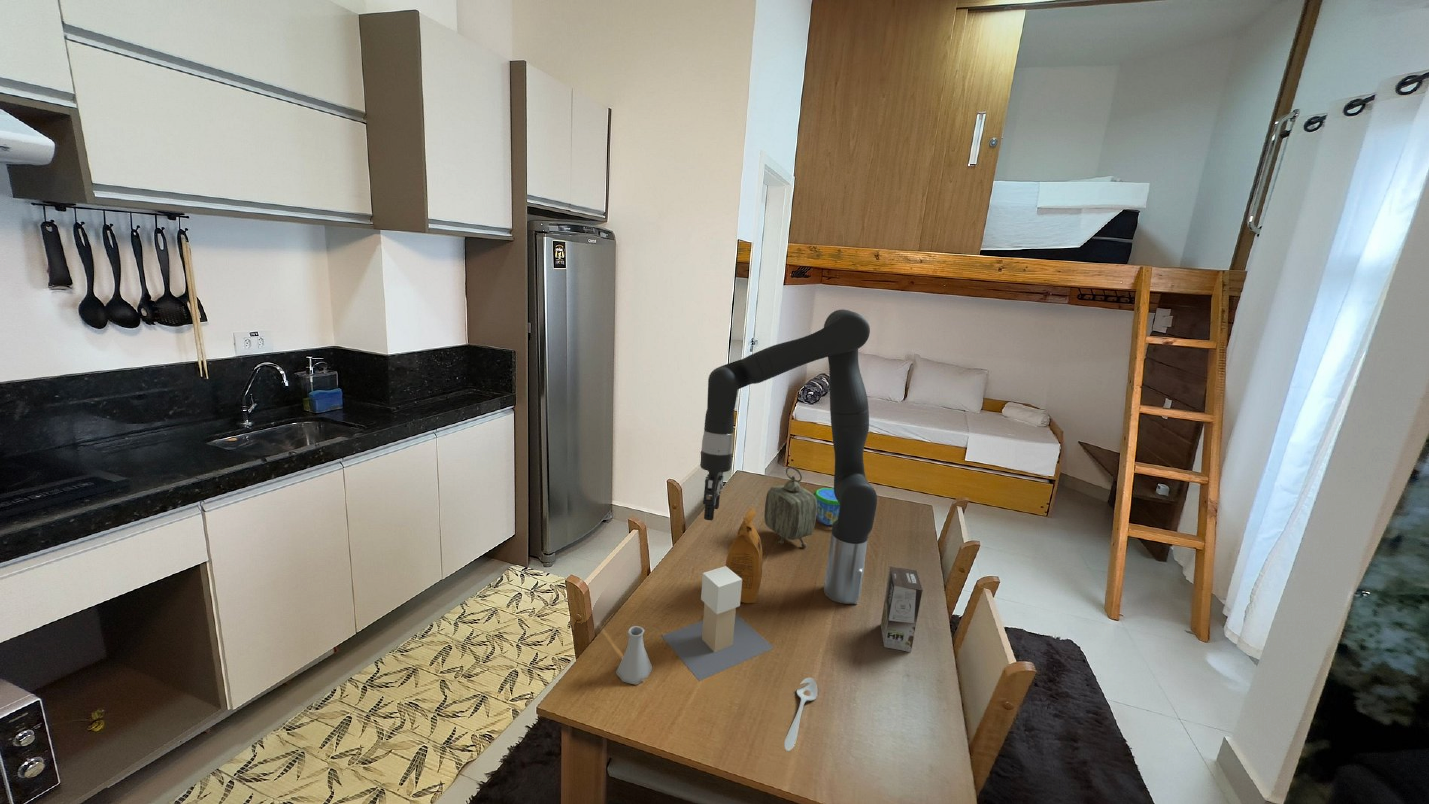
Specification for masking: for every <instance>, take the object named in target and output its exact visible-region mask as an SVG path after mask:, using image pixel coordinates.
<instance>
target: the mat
mask: <svg viewBox="0 0 1429 804" xmlns="http://www.w3.org/2000/svg"><path fill="white" fill-rule="evenodd" d="M702 631H703V620H701V621H697V622H695V623H693V624H690V625H687V626H685V627H682V628H679V629H676V630H673V631H670V632H667V633H665V634H662V635H661V638H662V639H663V640H664V642H666V644H668V646H669V648H671V650H673V652H674V653H675V655H677V657H678V658H679V659H680V660H681V661H682V663H683V664H684V665H685V666H686V667H687V669H689V671H690V672H691V673H692V674H693V675H694V676H695V678H696V679H697V680H698V681H699V682H700V681H702V680H704V679H707V678H709V677H711V676H713V675H716V674H718V673H721V672H724V671H725V670H728V669H730V668H732V667H735V666H736V665H739V664H741V663H744V662H746V661H748V660H750V659H752V658H756V657H758V656H759V655H762V654H764V653H766V652H769V651H771V650H773V649H774V647H773V646H772V645H771V644H770V643H769V642H768V641H767V640H766V639H765V638H763V636H762V635H760V634H759V633H758V632H757V631H756V630H755V629H754V628H753V627H752V626H751V625H750V624H748V623H747V622H746V620H744V619H743V618H742V617H741V616H739V614H738V613H736V612H735V624H734V635H733V645H731V646H728V647H726V648H724V649H721V650H719V651H716V652H714V651H713V650H712V649H711V648H710V647H709V646H708V645H707V644H706V643H705V642H704V641H703V640H702Z"/></svg>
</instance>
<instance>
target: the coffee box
mask: <svg viewBox="0 0 1429 804" xmlns="http://www.w3.org/2000/svg"><path fill="white" fill-rule="evenodd" d="M888 571H889V572H888V576H887V582H886V589H885V595H884V601H883V602H884V603H883V609H882V613H881V619H880V620H881V621H880V628H881V635H882V642H883V647H884V648H888V649H894V650H898V651H901V652H902V651H903V652H908V653H910V652H912V649H913V643H914V637H915V632H916V626H917V622H918V616H919V611H920V608H921V607H920V606H921V602H922V601H921V599H922V595H923V591H924V590H923V588H922V583H921V581H920V578H919V575H918V571H917V569H916V570H915V569H911V568H910V569H909V568H903V567H894V566H889V570H888Z"/></svg>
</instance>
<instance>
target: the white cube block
mask: <svg viewBox="0 0 1429 804" xmlns="http://www.w3.org/2000/svg"><path fill="white" fill-rule="evenodd" d="M741 588H742V579H741V578H740V577H739V576H737V575H736V574H735V573H734V572H733V571H731V570H730V569H729V568H728V567H727V566H725V565H724V566H722V567H721V566H720V567H718V568H715V569H711V570H709V571H708V570H707V571H704V572H703V573H702V581H701V593H700V594H701V596H700V600H701V601H702V602H703V603H705V604H706V605H707V606H708V607H709V608H711V609H712V610H713V611H714V612H715V613H716V614H719V613H722V612H725V611H728V610H730V609H733V608H736V609H737V608H739V607H741V602H740V599H741Z"/></svg>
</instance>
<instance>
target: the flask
mask: <svg viewBox="0 0 1429 804" xmlns="http://www.w3.org/2000/svg"><path fill="white" fill-rule="evenodd" d="M644 633H645V629H644V628H643V627H642V626H638V625H633V626H631V627H629V629H628V630H627V635H628V642H627V647H626V648H625V649H626V650H625V651H624V654H623V657H622V658H621V661H620V663H619V665H618V667H617V669H616V672H615V673H616V675H617V677H619V679H620V680H621V681H622V682H623V683H624V682H625V683H628V684H632V685H638V684H640V683H643V680H645V679H647V678H649V676H650V674H651V672H652V670H653V666H652V663H651V661H650V659H649V655H648V653H647V651H646V648H645V645H644V637H643V636H644Z"/></svg>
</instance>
